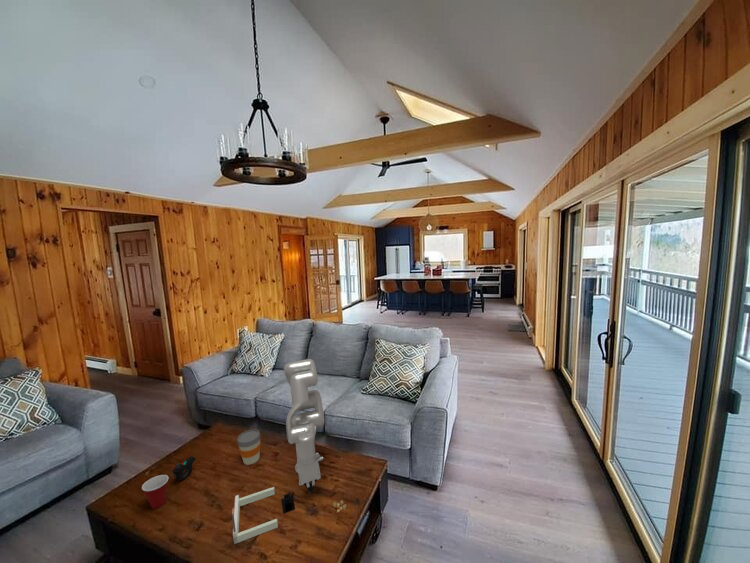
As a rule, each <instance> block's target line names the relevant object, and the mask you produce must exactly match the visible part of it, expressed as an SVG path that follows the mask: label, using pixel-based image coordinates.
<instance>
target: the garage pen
mask: <svg viewBox="0 0 750 563" xmlns="http://www.w3.org/2000/svg"><path fill="white" fill-rule="evenodd" d="M275 492H276V491H275V486H273V487H269V488H267V489H263V490H261V491H258V492H254V493H251V494H249V495H246V496H243V497H240V495H239V494H237V495H235V497H234V507H232V512H231V521H232V537H233V538H232V539H233V544H234V545H235V544H238V543H241V542H243V541H247V540H249V539H251V538H253V537H257V536H259V535H261V534H264V533H268V532H270V531H272V530H275V529H277V528H279V526H278V518H275V519H272V520H270V521H266V522H264V523H261V524H259V525H258V524H257V525H256V526H253V527H251V528H248V529H245V530H242V531H240V529H239V528H240V526H239V525H240V509H241V508H240V507H242V506H246V505H247V504H251V503H253V502H257V501H259V500H263V499H266V498H268V497H270V496H274V495H275V494H276V493H275Z"/></svg>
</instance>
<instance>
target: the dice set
mask: <svg viewBox="0 0 750 563" xmlns="http://www.w3.org/2000/svg"><path fill="white" fill-rule="evenodd" d="M340 505H341V506H340ZM333 507H335V508H336V507H337V508H338V509H337V510H336V512H337V513H340V511H342V510H346V509H347V504H346V503H344V500H343V499H340V502H339V503H337V501H334V502H333Z"/></svg>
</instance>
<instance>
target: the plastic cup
mask: <svg viewBox="0 0 750 563" xmlns="http://www.w3.org/2000/svg"><path fill="white" fill-rule="evenodd" d="M169 479H170V478H169V476H168V475H167V474H160V475H156V476H153V477H151V478H149V479H148V480H147V481H145V482H144V483H143V484H142V485H141V490H142V491H143V493H144V495H145V496H146V499H147V501H148V503H149V505H150V507H151V508H152V509H158V508H160V507H162V506H163V505H164V504H165V503H166V500H167V488H168V486H167V485H168V481H169Z"/></svg>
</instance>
